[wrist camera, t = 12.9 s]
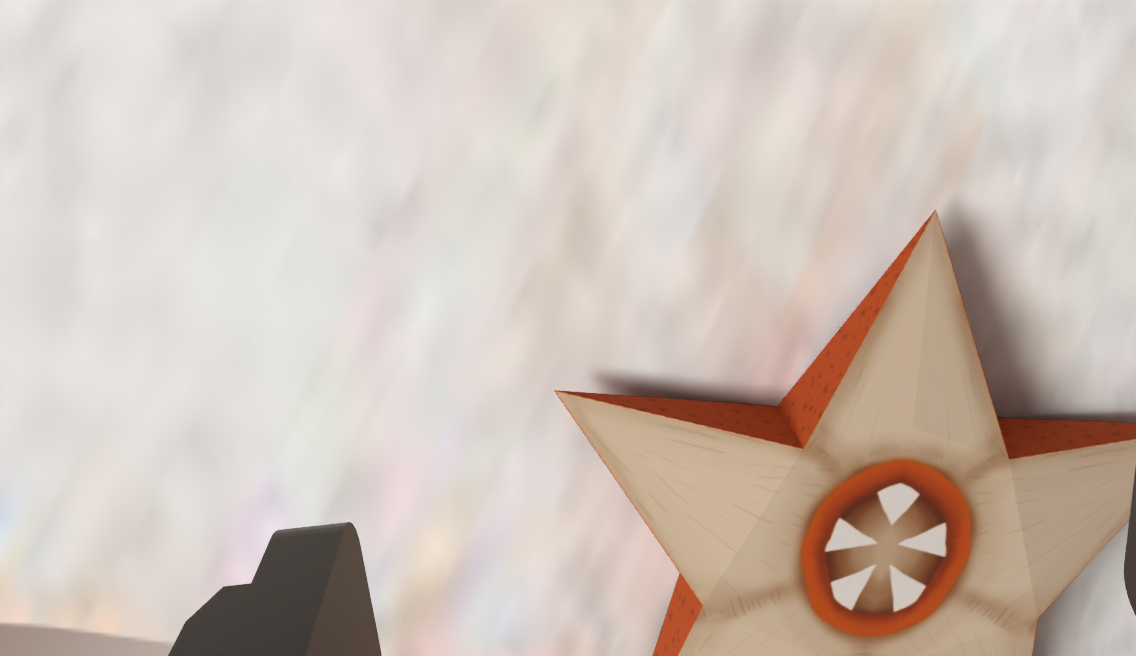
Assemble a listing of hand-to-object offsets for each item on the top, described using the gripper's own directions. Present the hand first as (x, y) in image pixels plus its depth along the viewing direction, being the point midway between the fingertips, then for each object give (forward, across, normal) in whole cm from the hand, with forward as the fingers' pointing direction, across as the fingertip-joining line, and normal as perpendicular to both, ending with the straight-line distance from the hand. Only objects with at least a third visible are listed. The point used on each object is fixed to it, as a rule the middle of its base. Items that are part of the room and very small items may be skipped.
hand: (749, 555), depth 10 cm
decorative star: (+30, -11, +19) cm, 37 cm away
